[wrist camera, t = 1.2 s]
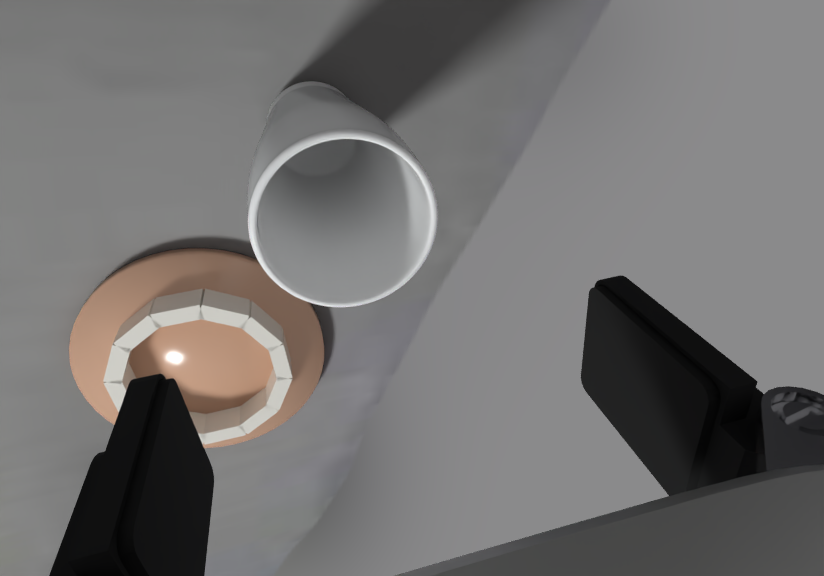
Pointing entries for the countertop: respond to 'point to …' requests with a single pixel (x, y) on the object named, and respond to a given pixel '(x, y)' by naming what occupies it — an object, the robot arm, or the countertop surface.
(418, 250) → the drinking glass
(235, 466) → the countertop surface
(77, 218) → the countertop surface
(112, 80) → the countertop surface
